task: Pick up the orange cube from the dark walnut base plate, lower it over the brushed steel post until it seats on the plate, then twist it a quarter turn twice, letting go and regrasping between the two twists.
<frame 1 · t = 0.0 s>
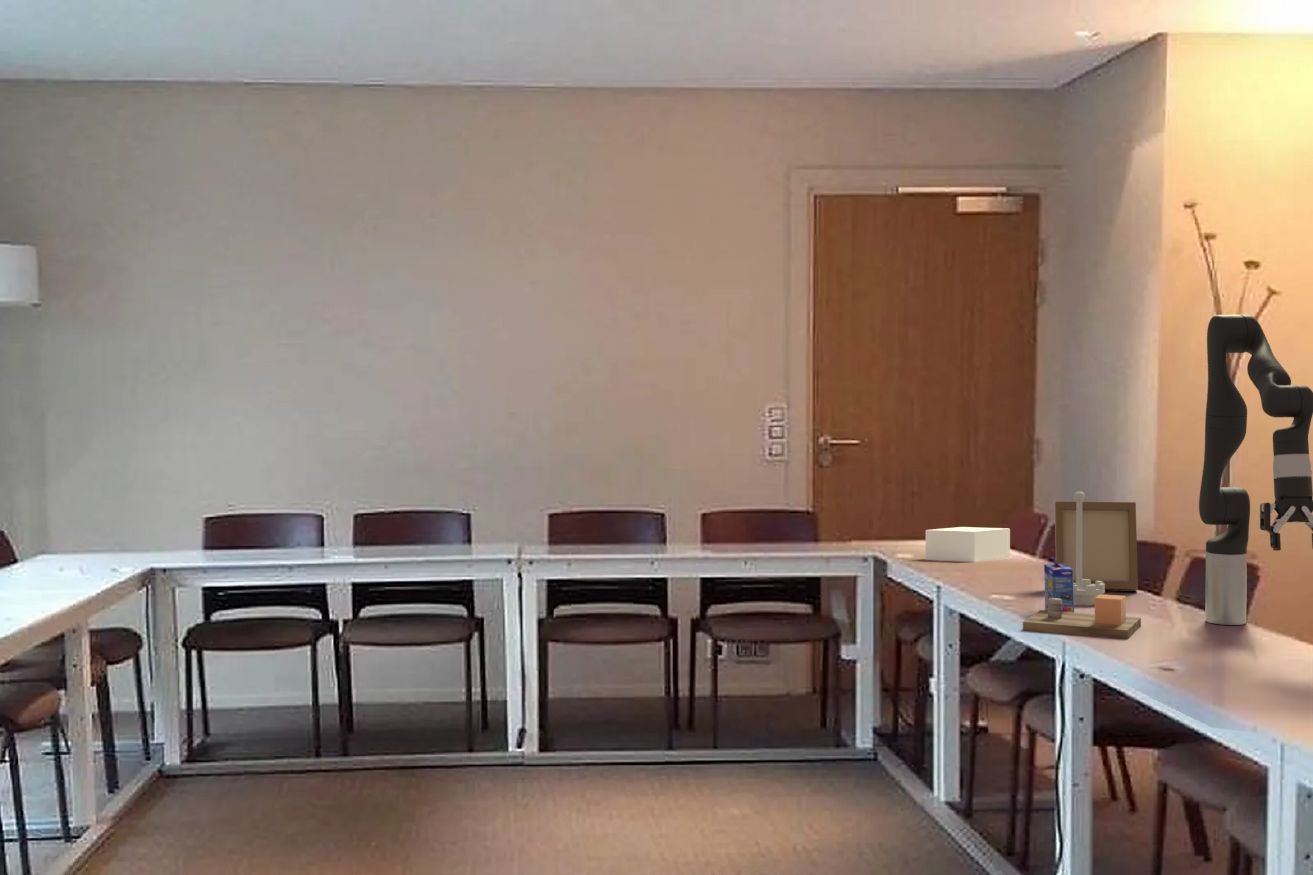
hand: (1296, 550, 282), 22 cm above the table, tool pointing down, fingers open, 8 cm apart
flag stand: (1079, 602, 350), on the table
base plate: (1082, 627, 313), on the table
photo frame: (1094, 588, 374), on the table
white rectangular box: (967, 560, 437), on the table
orange cube: (1110, 621, 310), point 2 cm above the table, touching base plate
ink cartridge box: (1058, 614, 334), on the table
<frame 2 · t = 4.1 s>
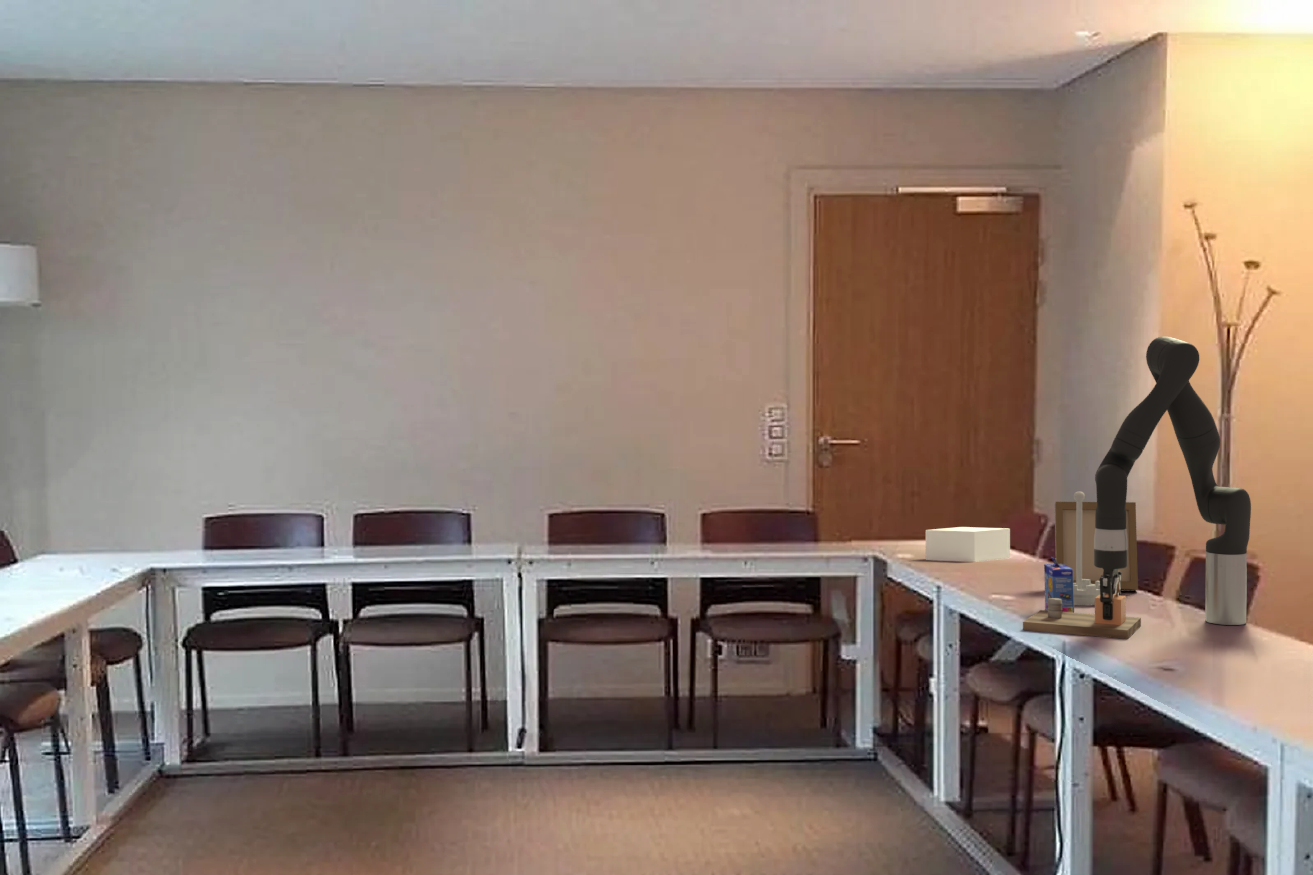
hand: (1110, 617, 310), 3 cm above the table, tool pointing down, fingers closed on orange cube, 6 cm apart
orange cube: (1110, 621, 310), point 2 cm above the table, touching base plate, gripper
everything else where it was.
when the fingers open (4 cm above the table, at t = 10.2 s): orange cube stays where it is, resting on base plate.
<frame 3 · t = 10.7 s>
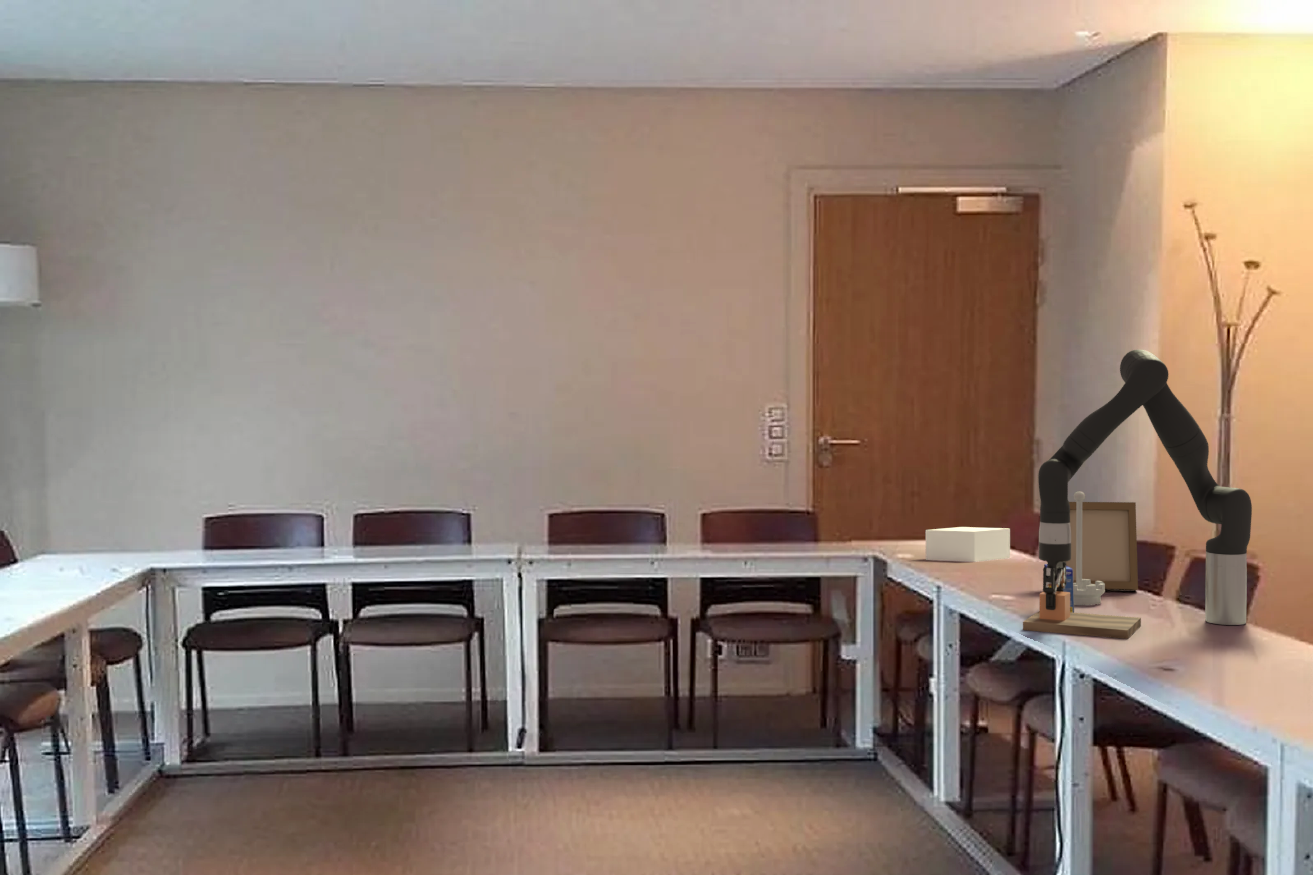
hand: (1054, 606, 316), 5 cm above the table, tool pointing down, fingers open, 8 cm apart
orange cube: (1054, 617, 316), point 2 cm above the table, touching base plate
everything else where it was.
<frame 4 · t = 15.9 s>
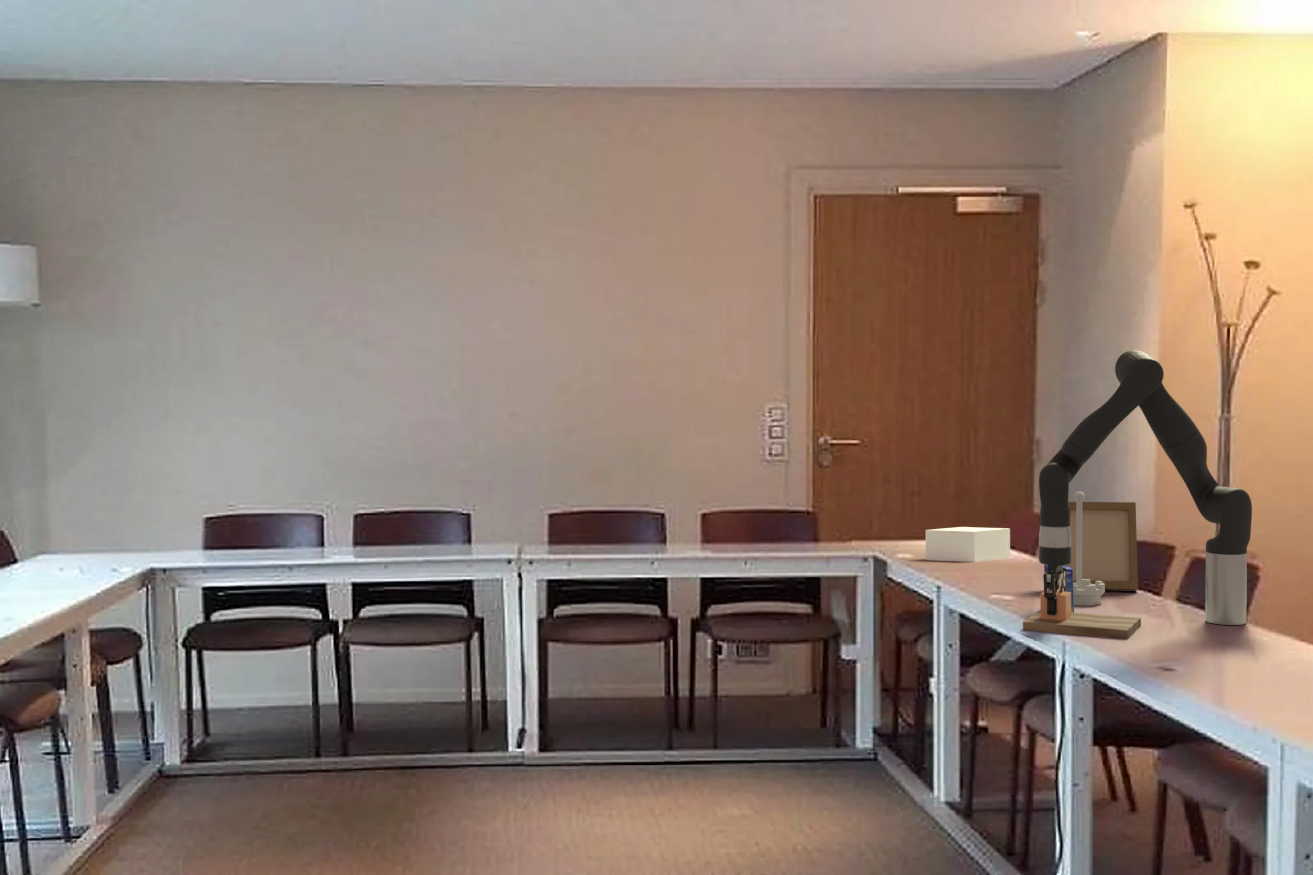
hand: (1055, 612, 317), 3 cm above the table, tool pointing down, fingers closed on orange cube, 6 cm apart
orange cube: (1055, 617, 317), point 2 cm above the table, touching base plate, gripper
everything else where it was.
when the fingers open (3 cm above the table, at t = 17.5 s): orange cube stays where it is, resting on base plate.
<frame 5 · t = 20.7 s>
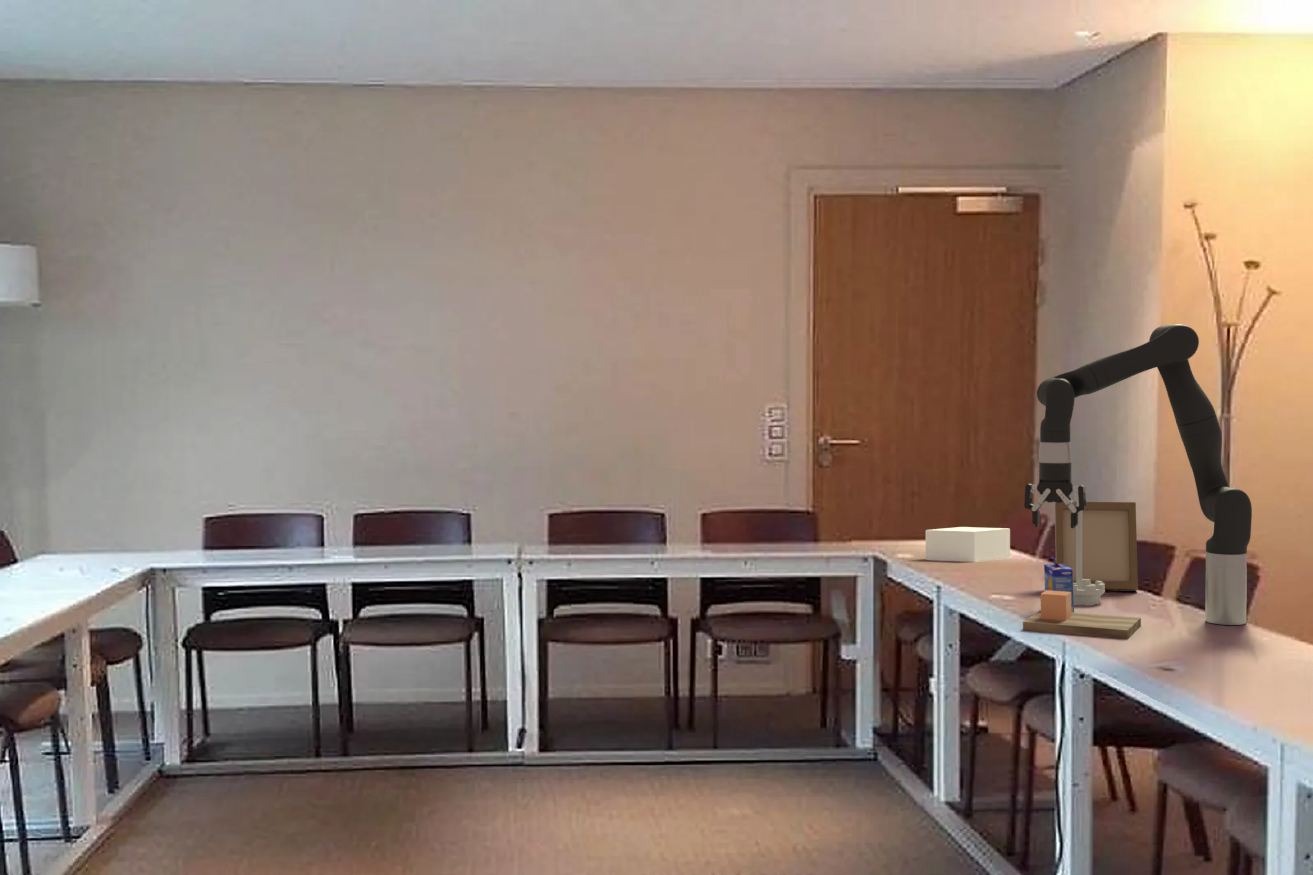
hand: (1055, 527, 315), 24 cm above the table, tool pointing down, fingers open, 8 cm apart
orange cube: (1056, 617, 317), point 2 cm above the table, touching base plate
everything else where it was.
at the end: orange cube 0.4 cm from the target spot on the base plate, point 2.0 cm above the base plate's base; orange cube tilted 0°; the gripper is holding nothing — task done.
